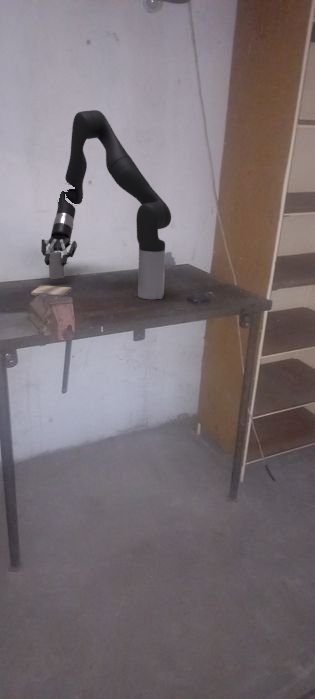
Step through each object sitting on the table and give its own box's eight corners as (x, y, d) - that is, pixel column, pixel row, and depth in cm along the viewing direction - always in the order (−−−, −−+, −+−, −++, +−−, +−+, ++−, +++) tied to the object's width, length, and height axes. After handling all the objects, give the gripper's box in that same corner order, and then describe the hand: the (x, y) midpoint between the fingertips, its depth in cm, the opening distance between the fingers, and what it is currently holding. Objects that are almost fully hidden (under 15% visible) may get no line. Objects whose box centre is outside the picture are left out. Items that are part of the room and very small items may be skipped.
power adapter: (65, 277, 200) (63, 246, 196) (51, 279, 198) (49, 247, 193) (62, 275, 203) (60, 245, 198) (48, 277, 200) (47, 246, 196)
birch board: (71, 290, 194) (71, 287, 194) (63, 297, 185) (63, 294, 184) (40, 287, 195) (40, 285, 195) (31, 295, 186) (30, 292, 186)
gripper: (42, 221, 200) (33, 258, 194) (78, 222, 199) (71, 260, 192) (47, 232, 207) (39, 269, 201) (82, 234, 206) (75, 270, 199)
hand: (54, 264), depth 197 cm, fingers closed on power adapter, 5 cm apart
